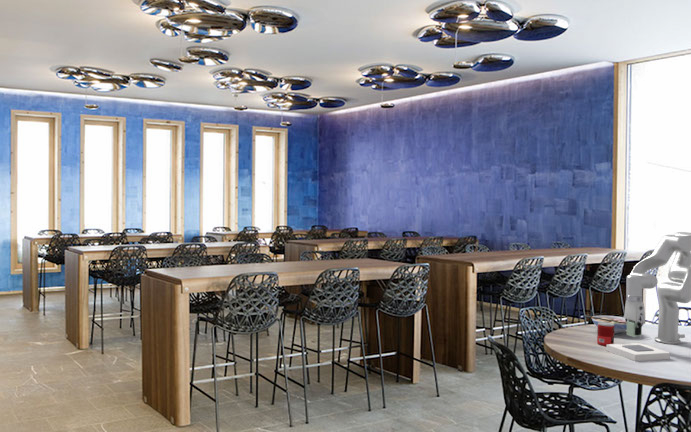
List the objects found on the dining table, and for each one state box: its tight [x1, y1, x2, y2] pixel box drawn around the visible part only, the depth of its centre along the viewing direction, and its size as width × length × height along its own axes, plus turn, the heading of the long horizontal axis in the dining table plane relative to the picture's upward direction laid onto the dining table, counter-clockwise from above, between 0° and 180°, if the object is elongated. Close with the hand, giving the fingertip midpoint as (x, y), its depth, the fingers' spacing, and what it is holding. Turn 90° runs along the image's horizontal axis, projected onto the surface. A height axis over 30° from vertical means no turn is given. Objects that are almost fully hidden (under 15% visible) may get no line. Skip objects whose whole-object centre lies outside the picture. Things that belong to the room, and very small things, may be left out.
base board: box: [605, 342, 671, 362], centre depth 307 cm, size 20×20×3 cm
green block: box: [626, 321, 643, 338], centre depth 327 cm, size 5×5×7 cm
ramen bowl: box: [584, 315, 627, 335], centre depth 357 cm, size 25×23×8 cm
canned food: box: [596, 322, 615, 347], centre depth 327 cm, size 8×8×11 cm
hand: (634, 333), depth 327 cm, fingers closed on green block, 4 cm apart
